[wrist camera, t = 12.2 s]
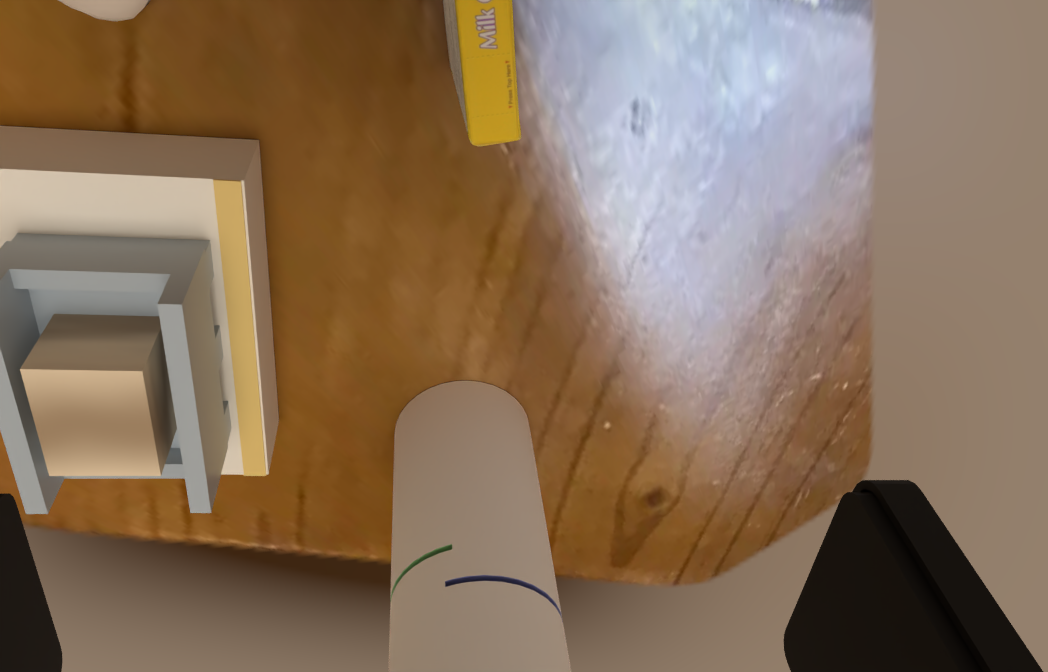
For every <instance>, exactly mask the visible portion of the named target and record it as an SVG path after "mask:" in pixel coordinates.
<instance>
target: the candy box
mask: <svg viewBox="0 0 1048 672" xmlns="http://www.w3.org/2000/svg"><path fill="white" fill-rule="evenodd" d="M443 6H444V16H445V26H446V35H447V44H448V54H449V62H450V68H451V72H452V74H453V78H454V83H455V87H456V91H457V95H458V99H459V103H460V107H461V111H462V114H463V118H464V122H465V126H466V130H467V133H468V137H469V140H470V142H471V143H472V144H473V145H475V146H486V145H492V144H498V143H505V142H511V141H516V140H519V139H521V129H520V121H519V110H518V95H517V80H516V63H515V46H514V27H513V8H512V0H443Z"/></svg>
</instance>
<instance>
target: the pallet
mask: <svg viewBox="0 0 1048 672" xmlns="http://www.w3.org/2000/svg"><path fill="white" fill-rule="evenodd" d="M213 277H214V270H213V261H212V252H211V243H210V240H190V239H163V238H137V237H110V236H83V235H56V234H30V233H17V234H16V236H15V237H14V238H13V239H12V241H6V242H5V243H4V244H3V246H2V247H1V248H0V430H1V434H2V437H3V440H4V443H5V447H6V450H7V453H8V456H9V460H10V463H11V466H12V469H13V473H14V476H15V479H16V482H17V486H18V489H19V492H20V495H21V499H22V502H23V505H24V508H25V512H26V514H48V512H49V510H50V508H51V506H52V504H53V502H54V500H55V497H56V495H57V493H58V491H59V489H60V487H61V485H62V482H63V480H64V478H185V481H186V488H187V494H188V500H189V507H190V513H211V511H212V507H213V504H214V500H215V496H216V492H217V488H218V484H219V480H220V476H221V472H222V468H223V465H224V461H225V457H226V453H227V449H228V440H229V436H230V432H231V420H230V411H229V402H228V401H223V400H222V391H221V383H220V374H219V369H220V366H221V363H222V360H223V349H222V341H221V332H220V326H219V325H214V323H213V315H212V306H211V298H210V289H209V288H210V286H211V283H212V280H213ZM54 314H83V315H122V316H159V318H160V324H161V330H162V336H163V343H164V349H165V355H166V362H167V368H168V374H169V381H170V387H171V393H172V399H173V406H174V412H175V418H176V425H177V430H176V433H175V436H174V439H173V442H172V445H171V448H170V451H169V454H168V457H167V460H166V463H165V466H164V469H163V472H162V475H161V476H49V473H48V470H47V466H46V462H45V459H44V455H43V451H42V448H41V444H40V441H39V437H38V433H37V430H36V426H35V422H34V419H33V415H32V411H31V408H30V404H29V401H28V397H27V393H26V390H25V386H24V382H23V379H22V375H21V372H20V368H21V366H22V365H23V363H24V362H25V360H26V358H27V357H28V355H29V354H30V352H31V350H32V349H33V347H34V345H35V344H36V342H37V341H38V339H39V337H40V336H41V334H42V332H43V331H44V329H45V328H46V326H47V324H48V323H49V321H50V319H51V318H52V316H53V315H54Z"/></svg>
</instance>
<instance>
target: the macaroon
mask: <svg viewBox="0 0 1048 672" xmlns="http://www.w3.org/2000/svg"><path fill="white" fill-rule="evenodd" d="M59 1H60V2H62V3H64V4H65V5H67V6H69V7H70V8H73V9H76V10H78V11H81V12H84V13H86V14H88V15H90V16H92V17H94V18H96V19H103V20H110V21H121V20H127V19H133V18H134V17H135V16H136V15H137V14H138V13H139V12H140V11H141V10H142V9H143V8H144V7H145V6H146V5H147V4H148V3H149V2H150V0H59Z"/></svg>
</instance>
